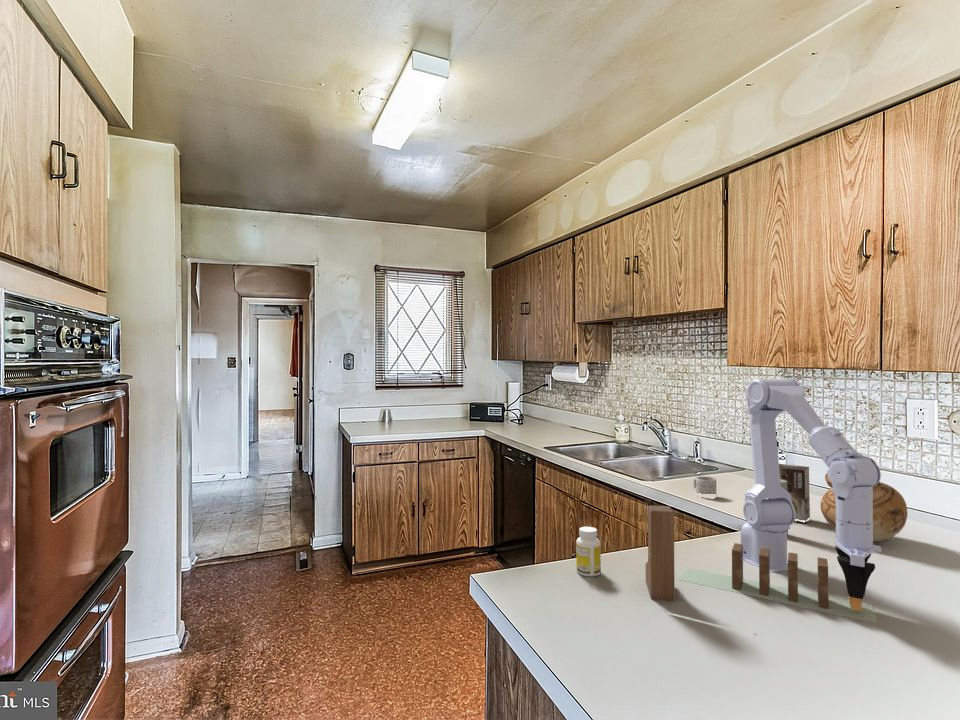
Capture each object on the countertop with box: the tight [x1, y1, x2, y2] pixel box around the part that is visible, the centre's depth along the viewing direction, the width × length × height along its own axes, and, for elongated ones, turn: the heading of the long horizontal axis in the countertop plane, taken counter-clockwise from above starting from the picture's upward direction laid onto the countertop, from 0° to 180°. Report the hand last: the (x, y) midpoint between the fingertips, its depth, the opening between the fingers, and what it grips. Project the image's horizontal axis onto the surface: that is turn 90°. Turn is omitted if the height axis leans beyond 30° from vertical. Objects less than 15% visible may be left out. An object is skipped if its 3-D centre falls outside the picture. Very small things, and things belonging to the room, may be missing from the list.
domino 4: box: [817, 556, 829, 609], centre depth 99 cm, size 2×5×8 cm, turn 147°
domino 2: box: [758, 548, 771, 596], centre depth 104 cm, size 2×5×8 cm, turn 147°
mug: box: [692, 475, 717, 495], centre depth 182 cm, size 10×7×7 cm, turn 13°
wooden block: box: [645, 505, 675, 602], centre depth 104 cm, size 9×4×18 cm, turn 169°
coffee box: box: [779, 463, 811, 521], centre depth 155 cm, size 9×6×16 cm
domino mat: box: [678, 567, 878, 624], centre depth 103 cm, size 34×8×1 cm, turn 57°
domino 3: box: [787, 551, 799, 603], centre depth 101 cm, size 2×5×8 cm, turn 147°
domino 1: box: [731, 542, 744, 590], centre depth 107 cm, size 2×5×8 cm, turn 147°
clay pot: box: [820, 473, 909, 543], centre depth 136 cm, size 19×19×20 cm
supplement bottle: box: [575, 526, 602, 577], centre depth 114 cm, size 5×5×10 cm
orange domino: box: [848, 595, 863, 611], centre depth 96 cm, size 2×5×8 cm, turn 147°
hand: (854, 591), depth 96 cm, fingers closed on orange domino, 5 cm apart
